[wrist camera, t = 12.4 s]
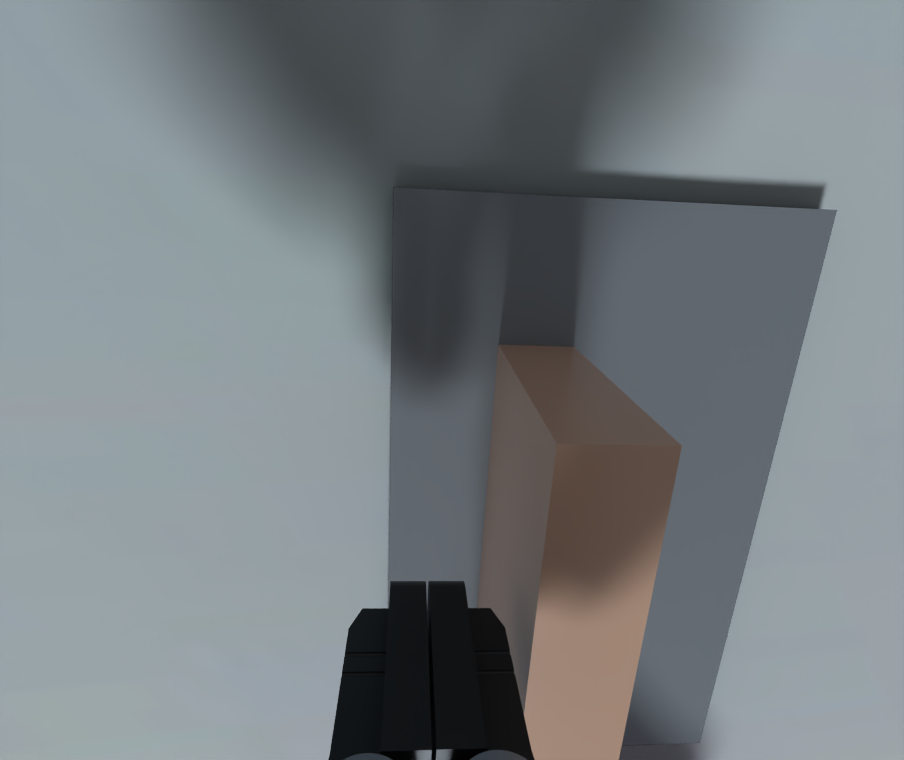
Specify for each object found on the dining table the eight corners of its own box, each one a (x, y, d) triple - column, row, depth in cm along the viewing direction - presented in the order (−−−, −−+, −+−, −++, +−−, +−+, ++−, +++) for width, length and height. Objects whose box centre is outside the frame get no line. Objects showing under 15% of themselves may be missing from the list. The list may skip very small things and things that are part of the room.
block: (498, 344, 14) (556, 443, 8) (574, 346, 14) (681, 445, 8) (476, 625, 17) (508, 842, 11) (539, 624, 17) (602, 838, 11)
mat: (394, 187, 13) (393, 187, 13) (819, 209, 14) (836, 209, 14) (387, 736, 19) (386, 753, 18) (691, 727, 20) (699, 743, 19)
